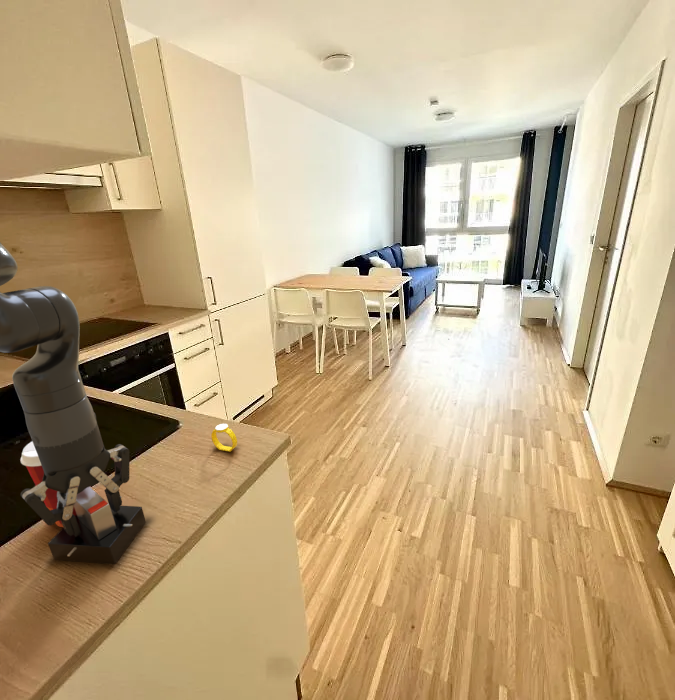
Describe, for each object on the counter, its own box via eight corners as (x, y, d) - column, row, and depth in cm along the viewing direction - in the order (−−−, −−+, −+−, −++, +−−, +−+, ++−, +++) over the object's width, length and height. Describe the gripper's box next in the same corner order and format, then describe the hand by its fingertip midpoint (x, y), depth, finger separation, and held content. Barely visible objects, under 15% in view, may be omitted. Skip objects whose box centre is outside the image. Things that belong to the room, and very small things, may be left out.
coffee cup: (112, 498, 67) (91, 429, 62) (78, 534, 60) (51, 459, 54) (72, 495, 68) (47, 428, 63) (33, 531, 61) (2, 457, 55)
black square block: (39, 571, 54) (31, 553, 52) (95, 511, 65) (89, 494, 63) (112, 576, 53) (106, 558, 51) (156, 514, 63) (152, 497, 62)
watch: (240, 448, 81) (237, 425, 79) (233, 455, 79) (229, 432, 77) (219, 443, 83) (215, 421, 81) (211, 450, 81) (207, 427, 79)
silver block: (78, 518, 58) (69, 493, 57) (95, 508, 60) (87, 483, 58) (99, 540, 54) (89, 513, 52) (117, 528, 56) (108, 502, 54)
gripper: (106, 401, 59) (130, 485, 65) (-8, 445, 48) (33, 541, 54) (129, 414, 55) (152, 502, 61) (10, 466, 44) (52, 567, 50)
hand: (96, 520), depth 57 cm, fingers open, 5 cm apart
